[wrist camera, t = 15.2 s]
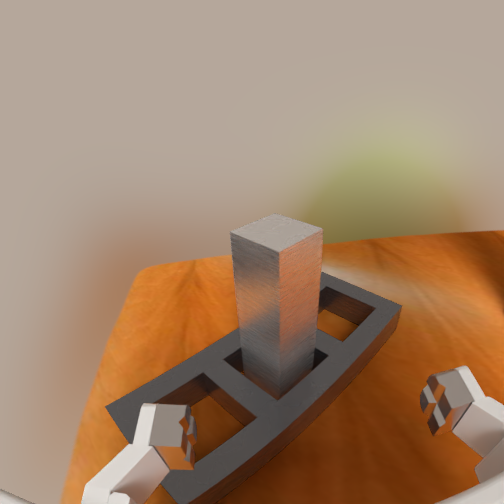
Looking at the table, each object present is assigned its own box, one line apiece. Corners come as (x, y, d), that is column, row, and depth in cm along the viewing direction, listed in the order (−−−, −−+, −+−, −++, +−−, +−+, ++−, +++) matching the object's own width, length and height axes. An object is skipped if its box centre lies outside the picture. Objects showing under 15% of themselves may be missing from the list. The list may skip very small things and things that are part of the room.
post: (277, 358, 29) (274, 213, 22) (311, 380, 26) (323, 228, 19) (245, 382, 26) (229, 231, 20) (279, 407, 24) (278, 252, 17)
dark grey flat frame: (320, 293, 37) (322, 271, 36) (396, 328, 30) (402, 305, 29) (118, 427, 22) (105, 406, 20) (192, 518, 15) (181, 507, 14)
